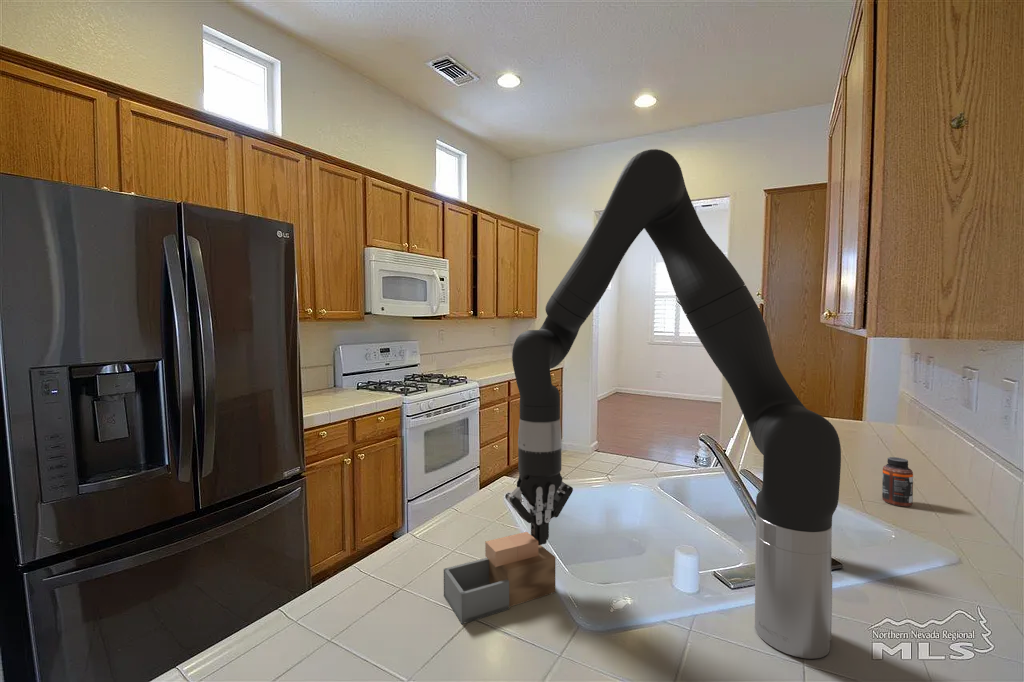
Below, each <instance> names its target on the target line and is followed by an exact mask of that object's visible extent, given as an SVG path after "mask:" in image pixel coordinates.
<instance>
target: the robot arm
mask: <svg viewBox="0 0 1024 682" xmlns="http://www.w3.org/2000/svg"><path fill="white" fill-rule="evenodd" d="M683 175H684V174H683V170H682V168H681V165H680V164H679V162H678V161H677V159H676V158H675V157H674V156H673V155H672V154H671V153H669V152H667V151H665V150H663V149H658V148H655V149H654V148H653V149H646V150H643V151H641V152H639V153H637V154H635V155H634V156H632V157H631V158H630V160H629V161H627V162H626V164H625V165H624V166H623V168H622V171H621V172H620V174H619V177H618V179H617V181H616V183H615V185H614V187H613V190H612V191H611V194H610V196H609V199H608V200H607V203H606V205H605V207H604V209H603V212H602V213H601V215H600V217H599V219H598V221H597V223H596V225H595V227H594V228H593V230H592V232H591V234H590V235H589V236H588V238H587V241H586V242H585V244H584V246H583V247H582V249H581V250H580V252H579V253H578V255H577V257H576V259H575V260H574V261H573V263H572V265H571V266H570V267H569V268H568V270H567V272H566V273H565V274H564V276H563V277H562V279H561V280H560V283H559V284H558V285H557V286H556V288H555V290H554V291H553V293H552V294H551V296H550V298H549V299H548V301H547V303H546V305H545V313H546V318H545V319H544V322H543V323H542V325H541V326H540V328H539V329H530V330H529V329H528V330H525V331H523V332H521V333H520V334H519V335H518V336H517V337H516V339H515V341H514V343H513V347H512V352H511V353H512V355H511V358H512V359H511V360H512V368H513V373H514V377H515V382H516V386H517V389H518V393H519V421H518V422H519V423H518V433H517V437H518V439H517V446H518V447H517V452H518V453H517V454H518V457H517V459H518V463H517V464H518V476H519V477H518V479H517V481H516V487H515V489H514V490H513V491H512V492H511V493H510V492H507V493H506V494H505V496H504V499H505V500H506V501H507V502H508V504H510V506H511V507H512V508H513V510H514V511H516V513H517V514H518V515H519V517H521V519H523V520H524V521H525V522H526V523H528V524H530V535H531V536H533V537H534V538H535V539H536V540H538V545H541V546H543V545H545V544H547V540H549V538H550V527H549V525H550V521H551V520H552V519H553V518H558V517H559V516H560V514H561V512H562V510H563V509H564V507H565V506H566V504H567V502H568V500H569V498H570V497H571V495H572V493H573V491H574V488H573V487H572V486H571V485H569V484H567V483H565V482H564V481H563V477H562V475H561V472H562V426H561V397H560V391H559V388H558V387H556V386H555V385H553V381H552V375H551V369H554V368H556V367H557V366H558V365H560V364H561V363H562V362H563V360H564V359H565V358H566V357H567V355H568V353H569V352H570V351H571V349H572V347H573V344H574V342H575V340H576V338H577V336H578V334H579V331H580V329H581V327H582V326H583V324H584V323H585V321H586V320H587V319H588V317H590V315H591V313H592V312H593V311H594V309H595V308H596V306H597V305H598V303H599V302H600V300H601V299H602V297H604V294H605V292H606V291H607V290H608V287H609V286H610V284H611V281H612V279H613V278H614V275H615V273H616V272H617V269H618V268H619V265H620V264H621V262H622V260H623V259H624V257H625V255H626V253H627V252H628V250H629V249H630V248H631V246H632V245H633V243H634V241H635V240H636V239H637V238H638V236H639V235H640V233H642V231H643V230H645V232H646V233H647V234H648V236H649V237H650V238H651V241H652V242H653V243H654V245H655V247H656V248H657V250H658V252H659V254H660V256H661V258H662V260H663V263H664V265H665V268H666V272H667V274H668V276H669V280H670V282H671V286H672V287H673V290H674V291H673V292H674V293H675V295H676V299H677V300H678V303H679V305H680V307H681V309H682V311H683V313H684V314H685V316H686V318H687V320H688V321H689V324H690V325H691V328H692V329H693V331H694V333H695V334H696V336H697V338H698V339H699V341H700V343H701V344H702V346H703V348H704V350H705V351H706V353H707V354H708V356H709V357H710V359H711V361H712V362H713V363H714V365H715V366H716V368H717V369H718V371H719V372H720V373H721V374H722V376H723V377H724V378H723V379H725V380H726V382H727V384H728V386H729V388H731V390H732V392H733V395H734V397H735V399H736V401H737V404H738V406H739V409H740V410H741V413H742V415H743V418H744V420H745V422H746V425H747V427H748V430H749V433H750V435H751V438H752V440H753V443H754V445H755V447H756V449H758V451H759V452H760V454H761V455H763V465H762V467H763V468H762V485H761V486H762V487H761V490H760V491H758V493H757V494H756V498H755V499H756V500H755V567H754V568H755V569H754V571H755V572H754V573H755V575H754V580H755V581H754V582H755V586H754V630H755V631H756V633H757V635H758V636H759V637H760V638H761V639H762V641H764V643H767V644H768V645H770V646H771V647H772V648H774V649H775V650H778V651H780V652H782V653H784V654H787V655H790V656H793V657H797V658H801V659H820V658H824V657H825V656H827V655H828V654H829V653H830V648H831V640H832V624H833V622H832V621H833V620H832V619H833V614H832V613H833V575H832V552H833V551H832V541H833V540H832V536H833V527H832V526H833V515H834V513H835V512H836V510H837V507H838V504H839V500H840V499H839V498H840V482H841V468H842V448H841V440H840V438H839V434H838V432H837V430H836V428H835V426H833V424H832V423H831V421H829V420H828V419H827V418H825V417H824V416H822V415H820V414H818V413H817V412H815V411H812V410H810V409H808V408H806V406H805V405H804V403H802V401H801V400H800V399H799V397H798V396H797V394H796V393H795V392H794V391H793V389H792V387H791V385H790V384H789V383H788V382H787V380H786V379H785V376H784V375H783V373H782V371H781V370H780V368H779V365H778V363H777V361H776V358H775V356H774V351H773V348H772V347H773V346H772V344H771V339H770V336H769V331H768V329H767V325H766V322H765V319H764V316H763V315H762V312H761V310H760V308H759V306H758V304H757V303H756V301H755V299H754V297H753V296H752V293H751V292H750V290H749V288H748V287H747V285H746V283H745V281H744V280H743V279H742V277H741V275H740V273H739V272H738V270H736V268H735V267H734V265H733V264H732V262H731V261H730V260H729V258H728V257H727V256H726V254H724V252H723V251H722V250H721V248H720V247H719V246H718V245H717V244H716V243H715V242H714V240H713V239H712V238H711V236H710V235H709V234H708V233H707V231H706V229H705V227H704V226H703V224H702V222H701V220H700V218H699V216H698V213H697V211H696V209H695V207H694V204H693V202H692V199H691V198H690V195H689V192H688V190H687V186H686V183H685V178H684V176H683ZM523 498H524V500H526V504H527V507H528V510H527V508H526V507H525V505H523V502H524V501H523Z"/></svg>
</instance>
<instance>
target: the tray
mask: <svg viewBox="0 0 1024 682" xmlns="http://www.w3.org/2000/svg"><path fill="white" fill-rule="evenodd" d="M443 597H444V598H445V600H446V602H447V603H448V605H449V606H450V607H451V610H452V611H453V612H454V615H456V617H457V619H458V621H459V623H460V624H461V625H463V624H467V623H471V622H472V621H476V620H479V619H483V618H485V617H486V618H487V617H489V616H492V615H495V614H497V613H501V612H505V611H507V610H510V607H509V580H508V579H506V580H503V581H499V582H496V583H492V584H491V583H490V582H489V559H488V558H487V557H485V558H484V557H483V558H481V559H478V560H477V559H476V560H472V561H469V562H464V563H460V564H457V565H452V566H449V567H445V568H443Z"/></svg>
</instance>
